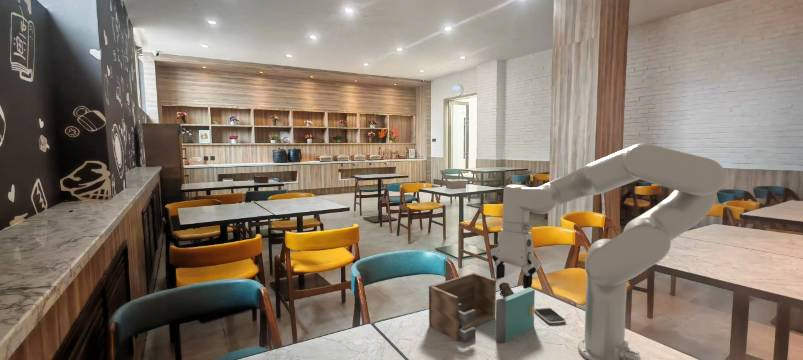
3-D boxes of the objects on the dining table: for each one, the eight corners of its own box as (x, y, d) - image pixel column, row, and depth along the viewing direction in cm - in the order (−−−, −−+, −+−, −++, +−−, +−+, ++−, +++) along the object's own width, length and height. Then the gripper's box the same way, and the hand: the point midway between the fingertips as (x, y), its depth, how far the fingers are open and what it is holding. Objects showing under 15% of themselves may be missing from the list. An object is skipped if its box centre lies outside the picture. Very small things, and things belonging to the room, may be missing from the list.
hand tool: (499, 291, 151) (499, 280, 151) (509, 292, 151) (509, 280, 150) (509, 313, 132) (509, 300, 132) (521, 313, 132) (521, 300, 132)
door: (536, 328, 121) (537, 290, 119) (503, 344, 111) (503, 304, 110) (527, 324, 123) (527, 287, 122) (493, 340, 113) (494, 300, 112)
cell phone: (549, 326, 122) (549, 322, 122) (532, 311, 133) (532, 307, 133) (567, 325, 123) (567, 321, 123) (548, 310, 134) (549, 306, 134)
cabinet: (507, 323, 124) (507, 284, 123) (461, 343, 112) (461, 300, 110) (473, 308, 135) (474, 272, 134) (429, 325, 123) (428, 286, 122)
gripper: (549, 230, 110) (546, 288, 111) (500, 220, 123) (498, 272, 125) (533, 234, 105) (530, 294, 107) (484, 223, 119) (482, 276, 120)
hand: (513, 282), depth 116 cm, fingers open, 9 cm apart
